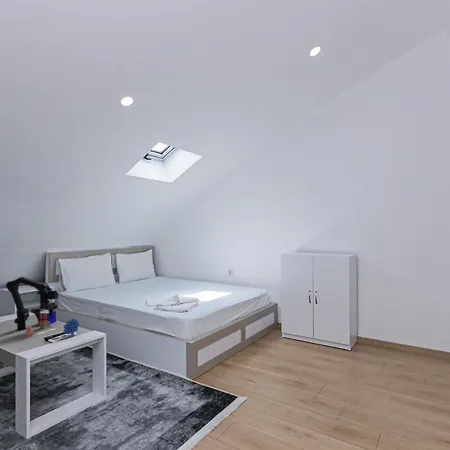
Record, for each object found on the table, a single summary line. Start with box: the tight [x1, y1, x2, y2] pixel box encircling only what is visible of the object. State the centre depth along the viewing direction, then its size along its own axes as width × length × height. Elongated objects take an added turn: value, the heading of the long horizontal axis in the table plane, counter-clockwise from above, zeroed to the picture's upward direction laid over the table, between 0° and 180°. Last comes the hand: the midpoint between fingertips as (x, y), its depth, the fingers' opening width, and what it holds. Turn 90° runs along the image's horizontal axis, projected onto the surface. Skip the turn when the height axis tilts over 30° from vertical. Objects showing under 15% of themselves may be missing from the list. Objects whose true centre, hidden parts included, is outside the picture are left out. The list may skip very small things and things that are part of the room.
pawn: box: [25, 325, 34, 338], centre depth 253 cm, size 4×4×8 cm
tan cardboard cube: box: [39, 321, 51, 330], centre depth 274 cm, size 5×5×5 cm
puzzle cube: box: [37, 309, 57, 326], centre depth 289 cm, size 10×10×10 cm
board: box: [26, 327, 56, 338], centre depth 261 cm, size 6×22×1 cm, turn 150°
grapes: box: [62, 317, 81, 335], centre depth 257 cm, size 12×7×12 cm, turn 132°
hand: (44, 319), depth 274 cm, fingers open, 9 cm apart
